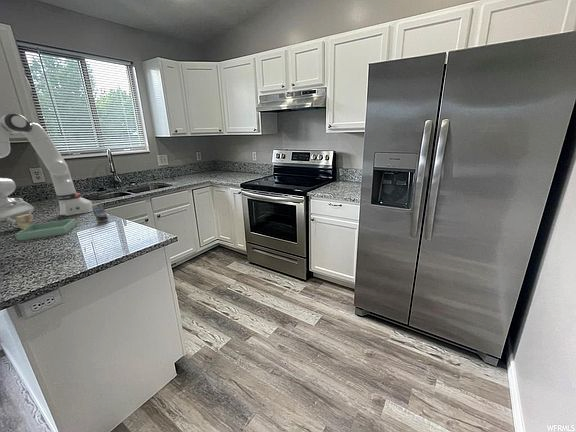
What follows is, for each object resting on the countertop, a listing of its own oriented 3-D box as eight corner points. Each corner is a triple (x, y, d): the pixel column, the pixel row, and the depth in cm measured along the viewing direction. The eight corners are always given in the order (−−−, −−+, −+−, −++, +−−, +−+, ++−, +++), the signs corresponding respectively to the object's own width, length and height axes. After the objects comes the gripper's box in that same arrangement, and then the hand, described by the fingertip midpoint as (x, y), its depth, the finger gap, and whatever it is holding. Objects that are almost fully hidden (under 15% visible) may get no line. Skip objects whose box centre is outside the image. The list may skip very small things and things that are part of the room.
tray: (77, 224, 167) (75, 218, 166) (66, 233, 151) (63, 227, 150) (34, 230, 160) (31, 224, 159) (17, 240, 144) (14, 234, 143)
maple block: (28, 226, 168) (23, 214, 166) (34, 226, 168) (30, 214, 165) (19, 229, 164) (15, 216, 161) (26, 229, 163) (22, 216, 161)
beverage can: (102, 223, 167) (97, 205, 164) (93, 222, 169) (88, 205, 165) (110, 219, 173) (106, 202, 169) (101, 219, 175) (96, 202, 171)
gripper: (-14, 206, 152) (6, 222, 153) (24, 197, 171) (42, 211, 173) (-18, 213, 153) (3, 229, 155) (20, 204, 173) (38, 218, 175)
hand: (24, 220), depth 164 cm, fingers open, 8 cm apart
